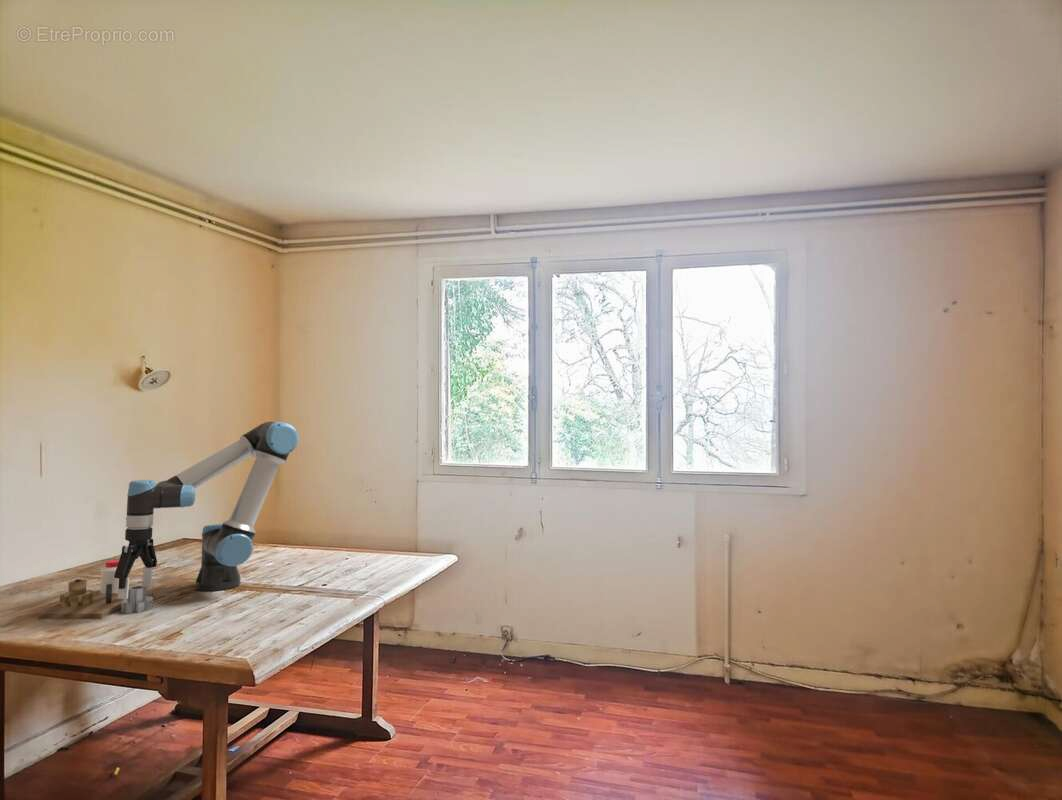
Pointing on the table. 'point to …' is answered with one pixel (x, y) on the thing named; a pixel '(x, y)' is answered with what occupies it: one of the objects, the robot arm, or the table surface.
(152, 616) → the table surface
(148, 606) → the steel gear
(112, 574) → the pill bottle
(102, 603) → the gear board
